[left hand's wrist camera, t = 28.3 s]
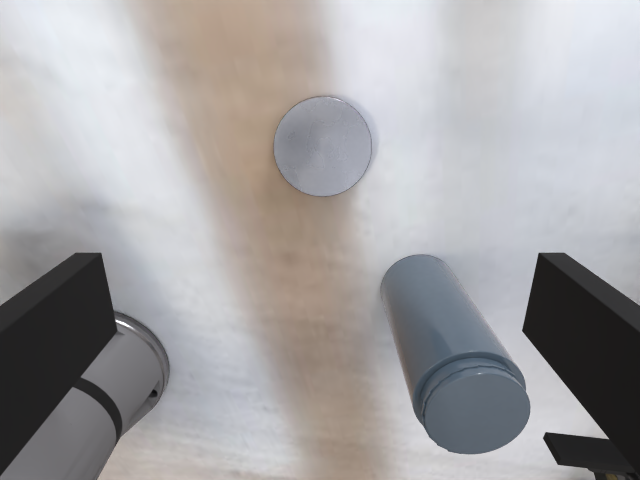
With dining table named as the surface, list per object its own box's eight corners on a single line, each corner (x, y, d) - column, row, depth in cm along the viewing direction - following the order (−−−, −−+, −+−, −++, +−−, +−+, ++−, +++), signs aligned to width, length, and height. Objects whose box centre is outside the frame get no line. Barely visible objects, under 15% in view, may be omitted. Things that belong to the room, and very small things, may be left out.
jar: (397, 245, 44) (447, 353, 26) (467, 266, 45) (560, 385, 27) (370, 308, 47) (399, 444, 29) (436, 327, 47) (503, 470, 30)
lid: (351, 202, 42) (352, 208, 40) (265, 175, 41) (262, 180, 39) (383, 114, 39) (386, 115, 37) (290, 82, 38) (289, 82, 36)
